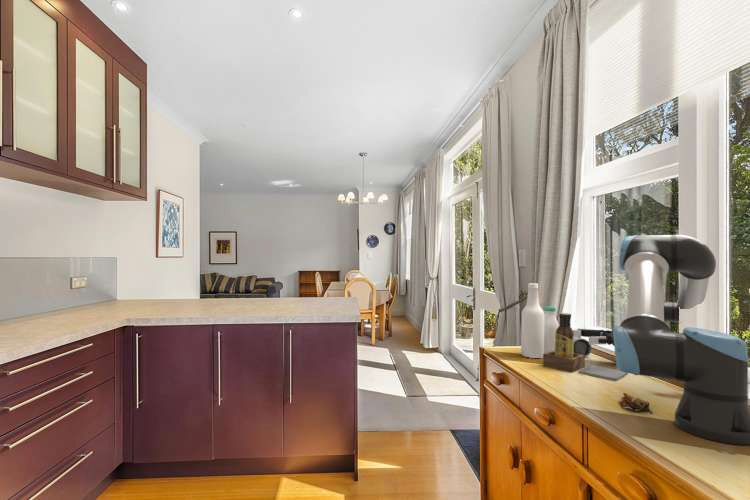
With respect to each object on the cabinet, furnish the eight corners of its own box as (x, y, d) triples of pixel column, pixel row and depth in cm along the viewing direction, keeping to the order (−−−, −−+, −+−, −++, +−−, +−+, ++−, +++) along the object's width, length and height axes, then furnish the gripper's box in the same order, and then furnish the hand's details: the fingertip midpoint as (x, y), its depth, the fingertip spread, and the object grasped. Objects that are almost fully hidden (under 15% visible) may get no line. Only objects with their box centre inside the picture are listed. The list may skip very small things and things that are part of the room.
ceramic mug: (585, 353, 173) (585, 335, 173) (592, 358, 165) (591, 339, 165) (559, 352, 175) (558, 334, 175) (564, 356, 167) (564, 338, 167)
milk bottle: (562, 354, 170) (562, 307, 170) (555, 357, 164) (555, 308, 164) (543, 351, 175) (543, 305, 175) (536, 354, 169) (536, 306, 170)
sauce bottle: (550, 365, 152) (551, 312, 153) (563, 363, 155) (563, 311, 155) (564, 369, 146) (565, 314, 147) (577, 368, 149) (577, 314, 149)
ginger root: (638, 400, 116) (638, 388, 116) (655, 415, 105) (655, 402, 105) (611, 398, 118) (611, 385, 118) (625, 412, 106) (625, 399, 107)
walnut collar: (573, 372, 143) (573, 359, 143) (543, 366, 151) (543, 354, 151) (584, 367, 150) (584, 355, 150) (555, 361, 158) (555, 349, 158)
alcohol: (517, 356, 165) (518, 283, 166) (525, 352, 172) (526, 282, 172) (539, 360, 159) (540, 284, 160) (547, 356, 166) (547, 283, 167)
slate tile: (616, 381, 133) (616, 378, 133) (578, 373, 142) (578, 370, 142) (627, 374, 141) (627, 372, 141) (590, 367, 150) (590, 365, 150)
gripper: (653, 353, 143) (600, 354, 140) (602, 339, 168) (556, 340, 164) (653, 332, 143) (600, 333, 140) (603, 321, 168) (556, 321, 164)
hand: (576, 336), depth 152 cm, fingers open, 13 cm apart
